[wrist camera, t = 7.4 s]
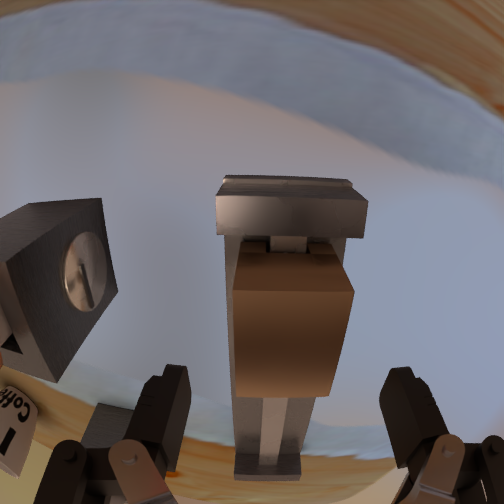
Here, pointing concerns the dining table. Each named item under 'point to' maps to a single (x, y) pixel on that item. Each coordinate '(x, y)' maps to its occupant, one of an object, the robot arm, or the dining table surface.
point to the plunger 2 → (117, 500)
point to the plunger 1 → (3, 331)
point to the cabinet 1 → (53, 282)
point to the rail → (279, 241)
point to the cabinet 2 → (106, 427)
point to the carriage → (288, 320)
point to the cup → (15, 429)
